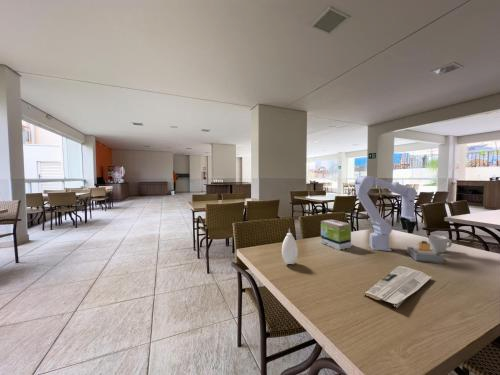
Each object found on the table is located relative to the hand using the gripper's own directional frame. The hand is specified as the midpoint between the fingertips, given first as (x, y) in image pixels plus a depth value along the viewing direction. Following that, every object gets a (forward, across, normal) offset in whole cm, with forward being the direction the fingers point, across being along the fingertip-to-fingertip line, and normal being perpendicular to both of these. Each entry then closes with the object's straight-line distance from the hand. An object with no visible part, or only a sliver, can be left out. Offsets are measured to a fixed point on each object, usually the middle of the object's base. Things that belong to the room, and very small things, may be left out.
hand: (407, 231), depth 120 cm
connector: (+9, -14, -2) cm, 17 cm away
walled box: (+10, -14, -2) cm, 18 cm away
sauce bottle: (+10, -40, +62) cm, 74 cm away
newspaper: (+11, -50, +19) cm, 55 cm away
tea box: (+10, -5, +39) cm, 41 cm away
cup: (+10, -1, -15) cm, 18 cm away
